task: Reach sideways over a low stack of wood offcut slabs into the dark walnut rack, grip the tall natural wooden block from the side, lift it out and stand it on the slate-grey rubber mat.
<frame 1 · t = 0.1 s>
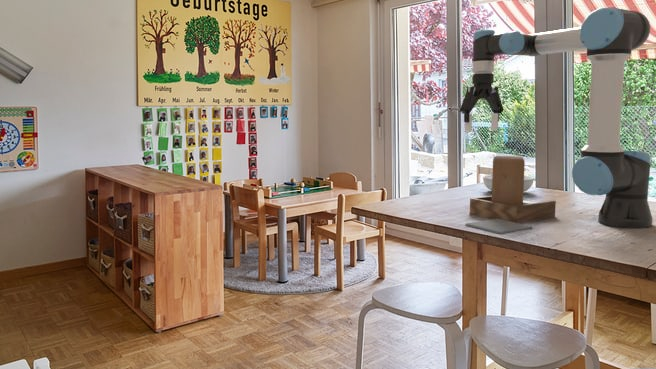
hand: (481, 131, 205), 28 cm above the table, tool pointing down, fingers open, 13 cm apart
serving bowl: (507, 193, 236), on the table
mat: (498, 226, 170), on the table
offcut slab upper: (528, 208, 191), point 2 cm above the table, touching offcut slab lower
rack: (512, 215, 188), on the table
wooden block: (506, 216, 188), on the table
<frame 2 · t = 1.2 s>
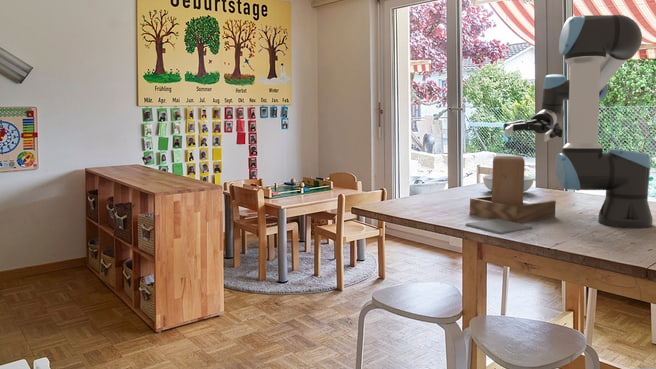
hand: (525, 135, 188), 27 cm above the table, tool horizontal, fingers open, 13 cm apart
nothing on the table moved.
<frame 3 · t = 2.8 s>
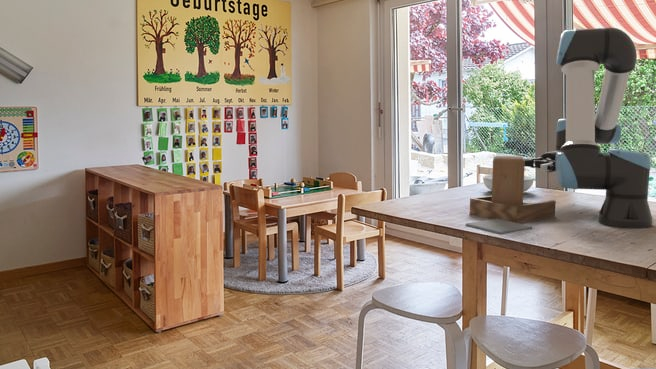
hand: (523, 166, 193), 16 cm above the table, tool horizontal, fingers open, 13 cm apart
nothing on the table moved.
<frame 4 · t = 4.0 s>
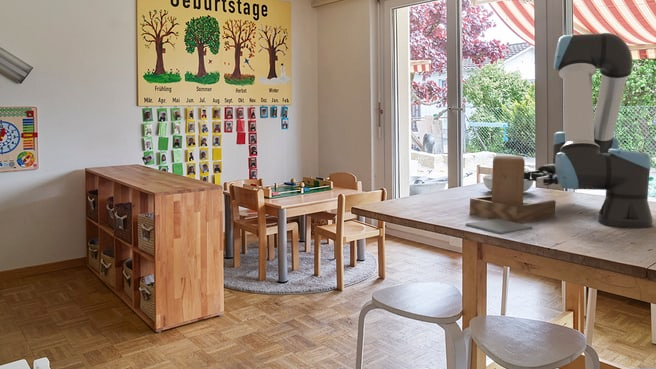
hand: (519, 179, 192), 11 cm above the table, tool horizontal, fingers open, 13 cm apart
nothing on the table moved.
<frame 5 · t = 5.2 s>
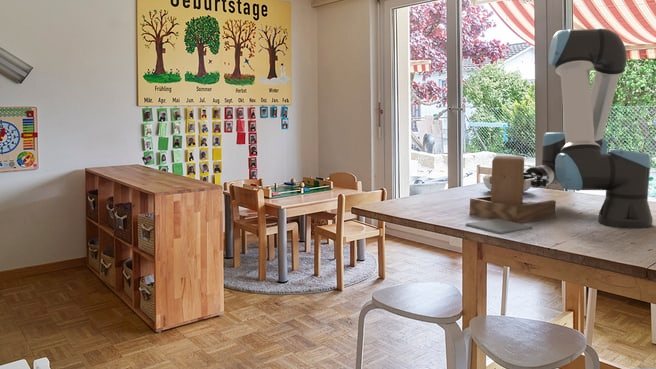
hand: (506, 182, 186), 11 cm above the table, tool horizontal, fingers open, 13 cm apart
wooden block: (506, 216, 188), on the table, touching gripper
everything else where it was.
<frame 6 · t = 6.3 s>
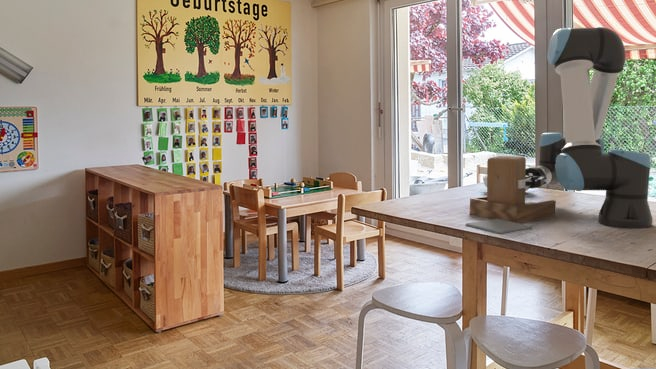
hand: (502, 182, 184), 12 cm above the table, tool horizontal, fingers closed on wooden block, 11 cm apart
offcut slab upper: (529, 209, 190), point 2 cm above the table
wooden block: (505, 216, 186), on the table, touching gripper
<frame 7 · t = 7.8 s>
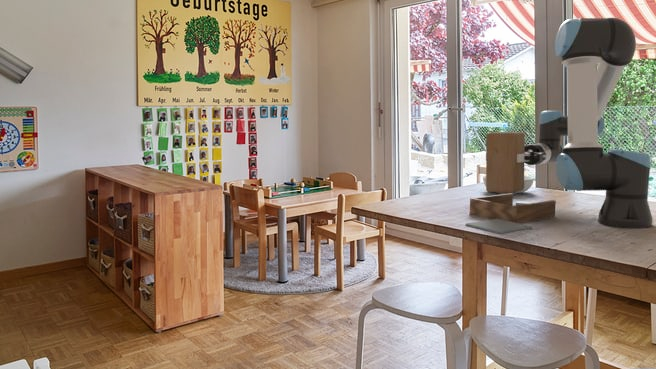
hand: (501, 157, 184), 20 cm above the table, tool horizontal, fingers closed on wooden block, 11 cm apart
offcut slab upper: (528, 209, 190), point 2 cm above the table, touching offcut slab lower
wooden block: (505, 191, 187), point 8 cm above the table, touching gripper
when the fingers open (13 cm above the table, at t = 13.8 s): wooden block drops 1 cm, resting on mat.
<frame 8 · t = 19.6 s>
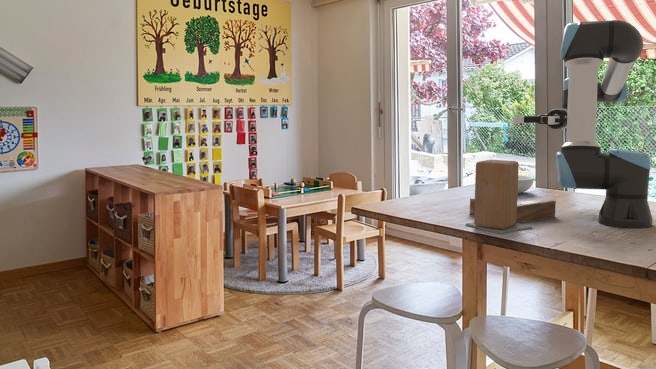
hand: (530, 120, 195), 32 cm above the table, tool horizontal, fingers open, 13 cm apart
wooden block: (495, 226, 169), resting on mat
at the end: wooden block inside the target area on the mat (1.8 cm from its centre), point 0.4 cm above the mat's base; wooden block tilted 0°; the gripper is holding nothing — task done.
